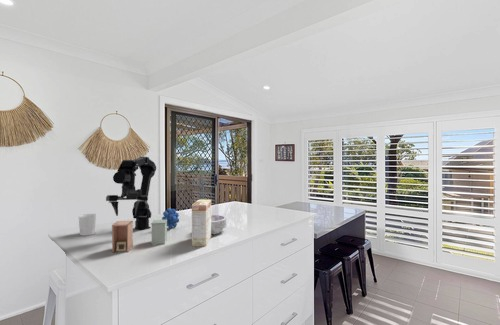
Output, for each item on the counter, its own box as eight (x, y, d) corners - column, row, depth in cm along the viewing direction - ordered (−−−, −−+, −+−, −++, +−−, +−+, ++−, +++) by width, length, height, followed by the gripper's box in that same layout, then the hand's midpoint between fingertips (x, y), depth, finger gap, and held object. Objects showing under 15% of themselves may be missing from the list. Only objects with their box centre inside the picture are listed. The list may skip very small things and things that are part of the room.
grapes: (167, 232, 145) (167, 210, 145) (159, 230, 149) (159, 209, 149) (183, 227, 155) (183, 207, 154) (176, 225, 159) (176, 205, 158)
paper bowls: (192, 233, 143) (192, 219, 142) (209, 227, 156) (209, 213, 156) (215, 237, 136) (215, 222, 135) (231, 230, 149) (231, 216, 149)
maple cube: (119, 248, 120) (119, 239, 120) (128, 247, 121) (128, 239, 120) (116, 251, 116) (116, 242, 116) (126, 251, 117) (126, 242, 116)
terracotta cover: (117, 247, 121) (117, 221, 121) (132, 246, 122) (132, 220, 122) (112, 252, 115) (112, 225, 114) (128, 251, 115) (128, 224, 115)
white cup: (88, 236, 137) (87, 217, 137) (75, 235, 138) (74, 216, 138) (99, 232, 145) (99, 214, 144) (87, 231, 146) (87, 213, 146)
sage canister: (154, 240, 131) (153, 220, 131) (167, 239, 132) (167, 219, 132) (151, 244, 125) (151, 223, 125) (165, 244, 126) (165, 222, 126)
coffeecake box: (198, 236, 138) (198, 199, 138) (211, 236, 138) (211, 199, 137) (191, 246, 123) (191, 204, 123) (206, 246, 123) (206, 204, 122)
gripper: (113, 183, 123) (111, 217, 121) (152, 184, 135) (151, 215, 134) (106, 183, 131) (104, 215, 129) (144, 184, 143) (142, 213, 142)
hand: (126, 215), depth 133 cm, fingers open, 9 cm apart
